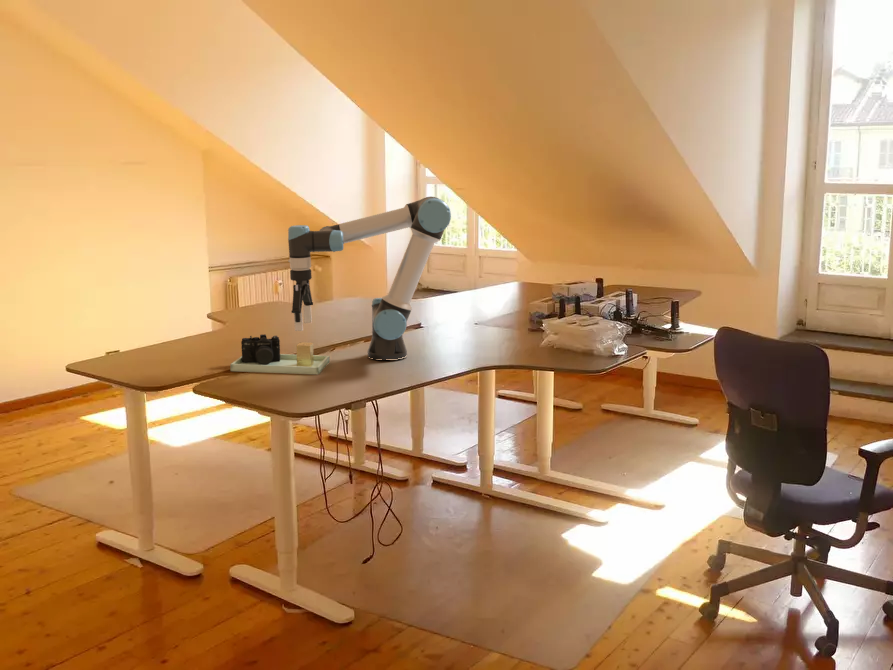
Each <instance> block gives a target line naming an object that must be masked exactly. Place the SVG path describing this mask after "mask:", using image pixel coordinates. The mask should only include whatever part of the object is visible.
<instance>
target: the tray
mask: <svg viewBox="0 0 893 670" xmlns="http://www.w3.org/2000/svg"><path fill="white" fill-rule="evenodd" d="M313 356H314V364H313V365H312V366H311V367H303V366H297V354H294V353H293V354H289V353H285V354H284V353H280V361H273V362H271V363H269V364H268V365H261V364H259V363H258V362H250V363H243V362H242V355H241V356H240V357H238V358H237V359H236V360H234V361H233V362H231V363H230V372H244V373H245V372H246V373H247V372H248V373H271V374H274V373H275V374H295V375H296V374H297V375H319V374H320V373H321V372H323V370H324V369H325V368H326V367H327V366H328V365H329V364H330V362H331V361H330V360H331V359H330V355H321V354H320V355H315V354H313ZM328 363H329V364H328ZM327 364H328V365H327ZM326 365H327V366H326Z"/></svg>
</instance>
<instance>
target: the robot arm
mask: <svg viewBox="0 0 893 670" xmlns="http://www.w3.org/2000/svg"><path fill="white" fill-rule="evenodd" d="M451 219H452V213H451V209H450V207H449V205H448V204H447V202H445V200H442V199H441V198H439V197H436V196H427V197H423V198H422V199H418V200H416V201H413V202H412V201H411V202H410V203H409V202H408V203H406V204H405V205H404V206H403V207H401V208H397V209H393V210H389V211H385V212H381V213H377V214H373V215H370V216H365V217H362V218H358V219H353V220H349V221H346V222H342V223H341V222H340V223H338V224H334V225H326V226H323V227H321V228H320V229H319V230H310V227H309V226H308V225H305V224H304V225H303V224H302V225H301V224H298V225H291V226H289V227H288V230H287V231H288V238H287V241H288V242H287V243H288V254H289V259H288V260H287V262H288V263H289V268H290V271H289V274H290V276H289V277H290V280H291V281H293V282H295V284H293V285H292V288H293V292H292V295H293V296H292V306H291V308H292V310H291V314H293V318H294V319H293V321H294V332H303V331H304V325H303V324H312V322H313V321H312V320H313V318H312V306H314V302H313V298H312V292H311V287H310V280H312V276H313V275H312V269H311V268H312V259H311V253H315V252H317V253H319V252H320V253H321V252H322V253H323V252H325V253H328V252H330V253H332V252H333V253H336V252H342V251H343V250H344V244H347V243H352V242H355V241H360V240H363V239H367V238H372V237H375V236H379V235H383V234H388V233H391V232H395V231H396V232H397V231H401V230H404V229H408V228H409V229H410V231H411V237H410V240H409V241H408V243H407V247H406V249H405V252H404V254H403V257H402V259H401V261H400V264H399V267H398V269H397V271H396V274H395V277H394V279H393V281H392V284H391V285H390V289H389V291H388V293H387V295H384V296H382V297H376V298H373V299H372V300H371V301H372V302H371V303H372V304H371V308H372V309H371V314H372V315H371V316H372V317H371V330H372V331H371V332H372V333H371V340H370V343H369V347H368V349H367V358H368V357H370V358H373V359H382V360H386V359H398V358H402V357H405V356H406V355H407V356H408V350H407V347H406V345H405V341H404V338H403V337H404V336H403V334H404V333H405V332H406V329H407V325H408V324H407V323H408V319H409V317H410V314H411V312H412V310H413V309H412V306H411V301H412V299H413V296H414V294H415V291H416V289H417V286H418V284H419V282H420V279H421V276H422V275H423V272H424V269H425V268H426V264H427V263H428V260H429V258H430V255H431V252H432V251H433V247H434V245H435V243H437V242H439V241H441V239H442V237H443V235H444V232H445V230H446V229H447V228H448V226H449V225H450V223H451ZM302 307H303V312H302ZM370 358H369V359H370ZM373 359H372V360H373Z"/></svg>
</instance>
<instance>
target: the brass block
mask: <svg viewBox="0 0 893 670" xmlns="http://www.w3.org/2000/svg"><path fill="white" fill-rule="evenodd" d="M296 355H297V366H303V367H311V366H312V365H313V364H314V356H313V355H314V342H303V341H302V342H299V343H298V344H296Z"/></svg>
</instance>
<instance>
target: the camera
mask: <svg viewBox="0 0 893 670" xmlns="http://www.w3.org/2000/svg"><path fill="white" fill-rule="evenodd" d="M259 335H260V336H256V337H255V336H254V337H252V335H250V336H249V337H243V338H241V341H240V343H241V348H240V349H241V356H242V362H243V363H250V362H258V363H259V364H261V365H268V364H269V363H271V362H273V361H280V354H281V345H280V344H281V341H280V337H279V336H278V335H273V336H272V337H271V338H267V334H259Z"/></svg>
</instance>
